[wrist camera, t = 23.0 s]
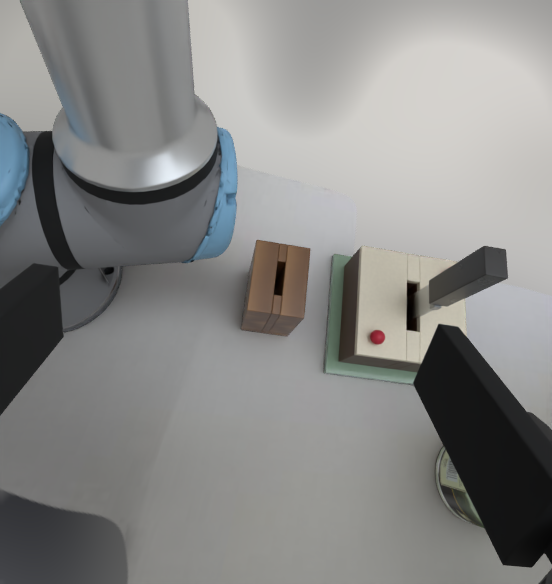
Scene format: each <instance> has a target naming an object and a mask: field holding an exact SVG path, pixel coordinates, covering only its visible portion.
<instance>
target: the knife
mask: <svg viewBox="0 0 552 584" xmlns="http://www.w3.org/2000/svg"><path fill="white" fill-rule="evenodd" d="M507 278H508V273H507V259H506V250H505V249H500V248H493V247H488V246H483V247H481V248H480V249H478V250H477V251H475V252H473V253H472V254H470V255H469V256H467V257H465V258H464V259H462V260H461V261H459V262H457V263H456V264H454V265H453V266H451V267H450V268H448V269H446V270H445V271H443V272H442V273H440V274H438V275H437V276H435V277H434V278H432V279H430V280H429V285H427V286H425V287H424V288H422V289H421V290H419V291H417V292H416V293H414V294H412V295H411V296H409V297H407V319H406V323H408V322H410V321H412V320H414V319H417V318H419V317H421V316H423V315H425V314H427V313H429V312H431V311H433V310H438V309H440V308H441V306H446V307H447V306H450V305H452V304H454V303H456V302H458V301H460V300H462V299H465V298H467V297H469V296H471V295H473V294H475V293H477V292H480V291H482V290H484V289H486V288H488V287H490V286H492V285H495V284H497V283H499V282H501V281H503V280H505V279H507Z"/></svg>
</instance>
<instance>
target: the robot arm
mask: <svg viewBox="0 0 552 584" xmlns="http://www.w3.org/2000/svg"><path fill="white" fill-rule="evenodd" d="M20 3H21V5H22V8H23V10H24V12H25V15H26V17H27V20H28V22H29V25H30V27H31V30H32V32H33V34H34V37H35V39H36V42H37V44H38V47H39V49H40V52H41V54H42V57H43V59H44V62H45V64H46V67H47V69H48V72H49V74H50V76H51V79H52V81H53V84H54V86H55V89H56V91H57V94H58V96H59V99H60V101H61V104H62V106H63V108H62V109H61V110H60V112H59V113H58V115H57V116H56V119H55V122H54V125H53V131H33V132H32V131H31V132H22V130H21V129H20V127H19V126H18V125H17V123H16V122H15V121H14V120H12V119H11V118H10V117H8V116H6V115H4V114H1V113H0V415H1V414H2V413H3V411H4V410H5V409H6V408H7V406H8V405H9V404H10V403H11V401H12V400H13V399H14V398H15V396H16V395H17V394H18V393H19V392H20V390H21V389H22V388H23V387H24V385H25V384H26V383H27V382H28V380H29V379H30V378H31V377H32V375H33V374H34V373H35V372H36V370H37V369H38V368H39V367H40V365H41V364H42V363H43V362H44V360H45V359H46V358H47V357H48V355H49V354H50V353H51V352H52V350H53V349H54V348H55V347H56V345H57V344H58V343H59V342H60V340H61V339H62V338H63V332H67V331H71V330H74V329H77V328H79V327H81V326H84V325H86V324H87V323H89V322H91V321H92V320H94V319H95V318H96V317H98V316H99V315H100V314H101V313H102V312H103V311H104V310H105V309H106V308H107V307H108V306H109V304H110V303H111V302H112V300H113V298H114V297H115V295H116V293H117V291H118V288H119V285H120V282H121V276H122V266H130V265H146V264H161V263H177V262H182V263H190V262H193V261H194V260H199V259H207V258H213V257H217V256H219V255H221V254H222V253H223V252H224V251H225V250H226V249H227V247H228V246H229V244H230V241H231V239H232V235H233V230H234V225H235V218H236V206H237V205H236V199H235V197H236V193H237V162H236V153H235V148H234V143H233V140H232V137H231V135H230V133H229V132H228V131H227V130H225V129H223V128H219V127H217V125H216V121H215V118H214V116H213V114H212V112H211V110H210V108H209V107H208V106H207V105H206V104H205V103H204V101H202V100H201V99H200V98H199V97H198V96H197V95H195V94H194V82H193V68H192V54H191V39H190V27H189V26H190V25H189V13H188V0H20ZM413 384H414V386H415V388H416V390H417V392H418V394H419V396H420V398H421V401H422V403H423V405H424V407H425V409H426V411H427V413H428V415H429V417H430V419H431V421H432V423H433V425H434V427H435V429H436V431H437V433H438V435H439V437H440V439H441V441H442V443H443V445H444V447H445V449H446V451H447V453H448V455H449V457H450V459H451V461H452V463H453V465H454V467H455V469H456V471H457V473H458V475H459V477H460V479H461V481H462V483H463V485H464V487H465V489H466V491H467V493H468V495H469V497H470V499H471V502H472V504H473V506H474V508H475V510H476V512H477V514H478V516H479V518H480V520H481V522H482V524H483V526H484V528H485V530H486V532H487V534H488V536H489V538H490V540H491V542H492V544H493V546H494V548H495V550H496V552H497V554H498V556H499V558H500V560H501V562H502V564H503V565H509V566H520V567H533V566H534V564H535V563H536V562H537V561H538V560H539V558H540V557H541V556H542V555H543V554H544V552H545V554H546V556H547V557H548V559H549V561H550V562H551V564H552V430H551V429H550V427H549V426H547V425H546V424H545V423H544V422H542V421H541V420H540V419H539V418H537V417H536V416H535V415H534V414H533V413H530V412H526V411H525V409H524V408H523V407H522V406H521V404H520V403H519V402H518V401H517V399H516V398H515V397H514V395H513V394H512V393H511V392H510V390H509V389H508V388H507V387H506V385H505V384H504V383H503V382H502V380H501V379H500V378H499V377H498V375H497V374H496V373H495V372H494V370H493V369H492V368H491V367H490V365H489V364H488V363H487V362H486V360H485V359H484V358H483V357H482V355H481V354H480V353H479V352H478V350H477V349H476V348H475V347H474V345H473V344H472V343H471V342H470V340H469V339H468V338H467V337H466V335H465V334H464V333H463V332H462V330H461V329H460V328H459V327H457V326H450V325H444V324H438V326H437V328H436V331H435V333H434V335H433V338H432V340H431V342H430V345H429V347H428V349H427V351H426V354H425V356H424V358H423V361H422V363H421V365H420V368H419V370H418V372H417V374H416V377H415V379H414V381H413ZM539 584H552V569H551V570H550V571H549V572H548V574H547V575H546V576H545V577H544V578H543V579H542V580H541V581H540V583H539Z"/></svg>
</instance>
